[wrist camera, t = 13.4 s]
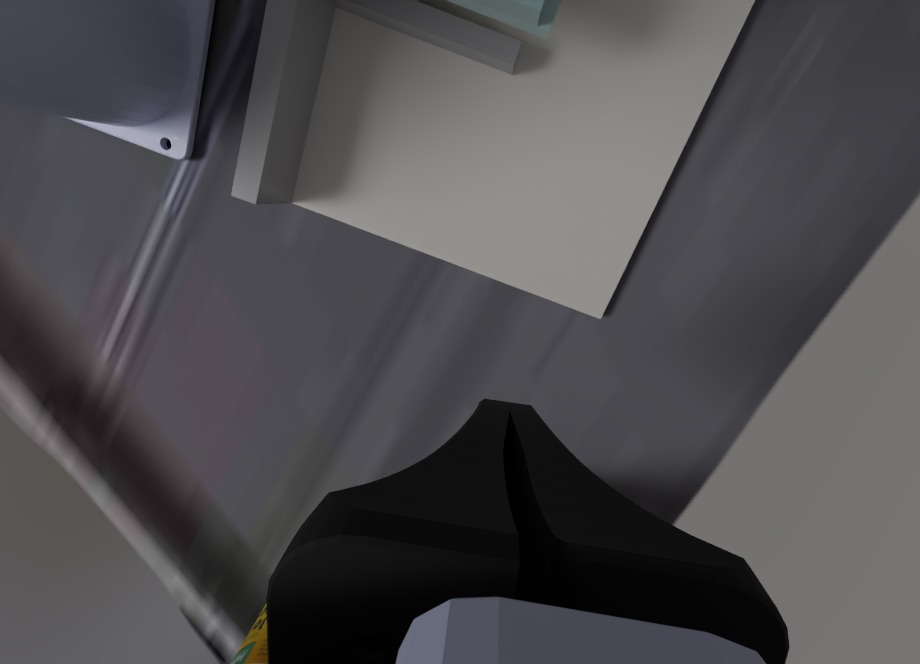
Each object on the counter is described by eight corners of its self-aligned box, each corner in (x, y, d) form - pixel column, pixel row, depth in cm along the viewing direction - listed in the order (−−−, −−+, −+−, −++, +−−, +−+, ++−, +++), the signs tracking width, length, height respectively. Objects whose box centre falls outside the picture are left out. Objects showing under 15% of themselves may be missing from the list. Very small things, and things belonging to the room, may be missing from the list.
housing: (276, 194, 21) (231, 195, 17) (376, -270, 16) (340, -400, 12) (598, 316, 21) (616, 340, 18) (799, -102, 16) (880, -183, 13)
